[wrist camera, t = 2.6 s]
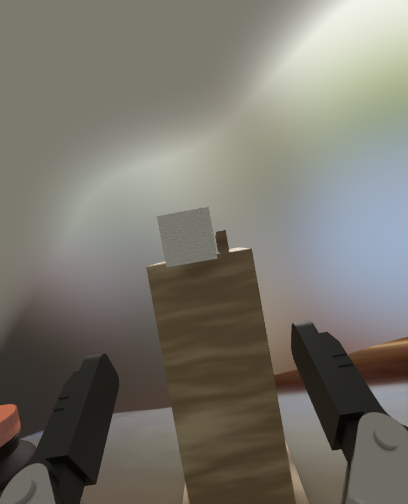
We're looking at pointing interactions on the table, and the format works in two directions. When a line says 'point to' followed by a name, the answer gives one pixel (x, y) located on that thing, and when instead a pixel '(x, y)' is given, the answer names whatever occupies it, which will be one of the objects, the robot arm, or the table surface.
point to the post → (222, 381)
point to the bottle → (12, 446)
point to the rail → (187, 237)
